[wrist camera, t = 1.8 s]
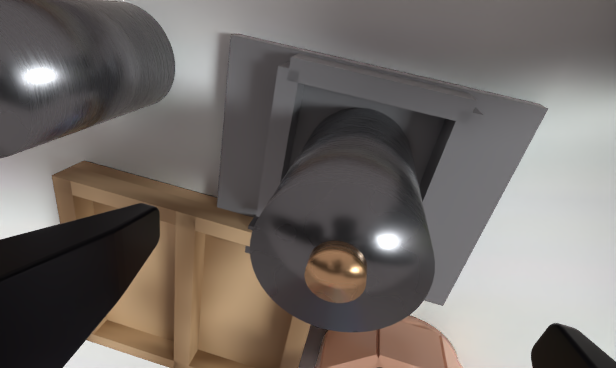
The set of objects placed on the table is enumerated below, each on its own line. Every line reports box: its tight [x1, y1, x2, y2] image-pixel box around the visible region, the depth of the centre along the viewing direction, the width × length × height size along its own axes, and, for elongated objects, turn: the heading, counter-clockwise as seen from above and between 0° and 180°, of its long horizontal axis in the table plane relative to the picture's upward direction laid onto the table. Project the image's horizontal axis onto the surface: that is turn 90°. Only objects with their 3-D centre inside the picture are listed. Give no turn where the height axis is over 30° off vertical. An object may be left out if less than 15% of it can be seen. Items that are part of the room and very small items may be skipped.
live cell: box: [250, 108, 435, 333], centre depth 11 cm, size 4×4×8 cm
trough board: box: [52, 161, 311, 368], centre depth 19 cm, size 14×12×2 cm
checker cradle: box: [217, 34, 548, 306], centre depth 15 cm, size 12×10×2 cm
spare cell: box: [0, 0, 175, 158], centre depth 12 cm, size 4×4×8 cm
